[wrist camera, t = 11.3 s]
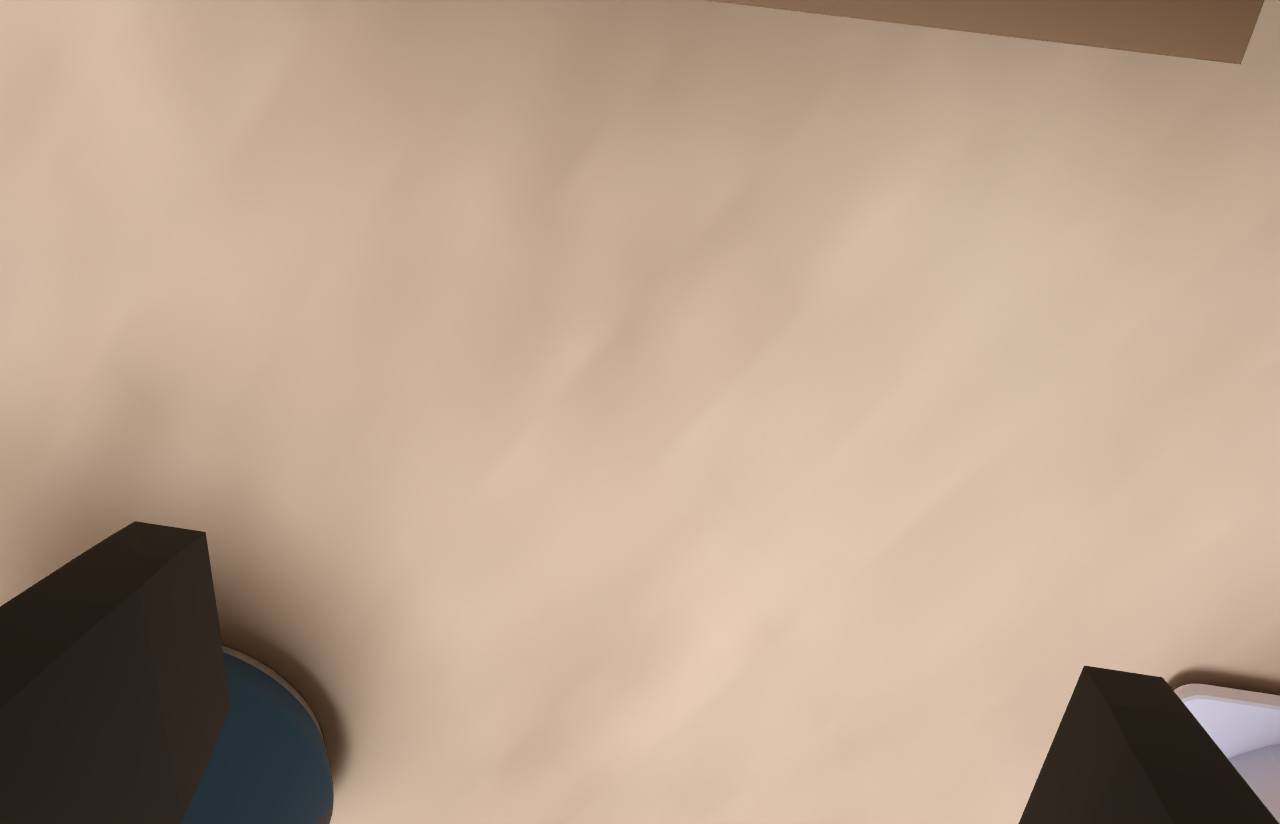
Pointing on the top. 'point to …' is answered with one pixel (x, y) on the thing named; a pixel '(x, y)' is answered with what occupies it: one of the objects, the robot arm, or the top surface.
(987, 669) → the top surface
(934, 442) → the top surface
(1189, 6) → the walnut collar
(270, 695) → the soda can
